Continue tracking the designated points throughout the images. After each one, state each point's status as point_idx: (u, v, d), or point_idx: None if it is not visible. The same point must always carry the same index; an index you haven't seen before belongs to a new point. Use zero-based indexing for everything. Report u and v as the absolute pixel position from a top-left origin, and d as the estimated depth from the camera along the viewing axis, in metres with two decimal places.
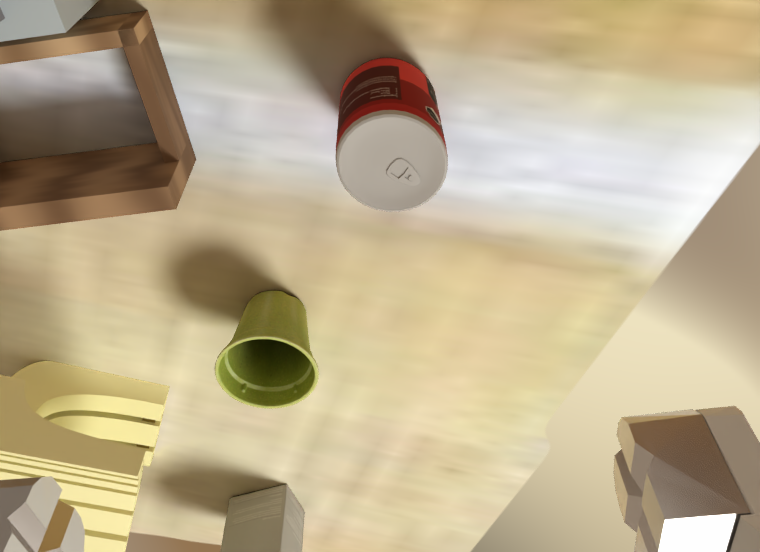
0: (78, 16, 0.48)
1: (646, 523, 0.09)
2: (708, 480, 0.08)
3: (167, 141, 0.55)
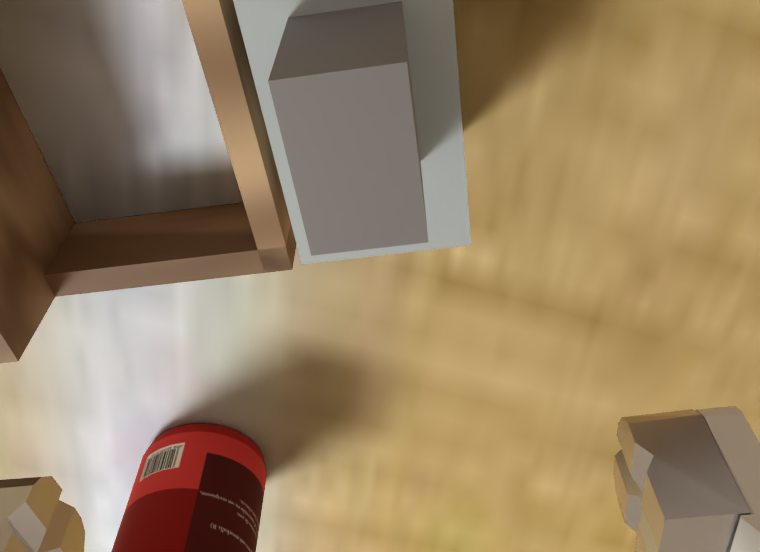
0: None
1: (646, 523, 0.09)
2: (708, 480, 0.08)
3: (90, 285, 0.30)
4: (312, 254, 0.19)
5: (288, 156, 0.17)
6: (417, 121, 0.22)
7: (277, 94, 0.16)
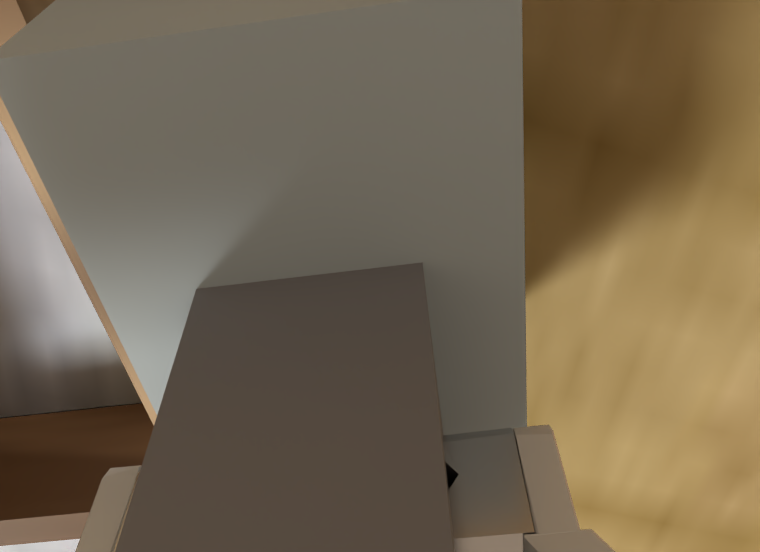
0: None
1: None
2: (503, 499, 0.08)
3: None
4: None
5: None
6: (445, 432, 0.12)
7: None
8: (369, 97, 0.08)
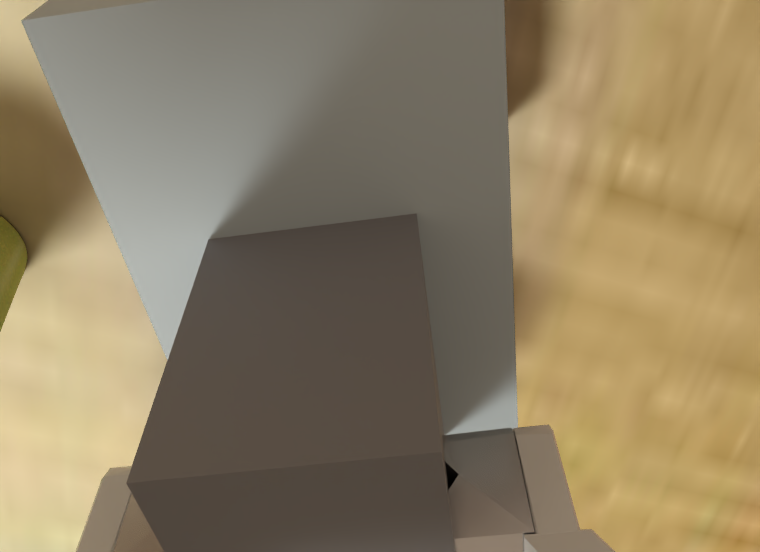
0: None
1: None
2: (503, 499, 0.08)
3: None
4: None
5: None
6: (440, 384, 0.13)
7: (151, 501, 0.07)
8: (367, 54, 0.09)
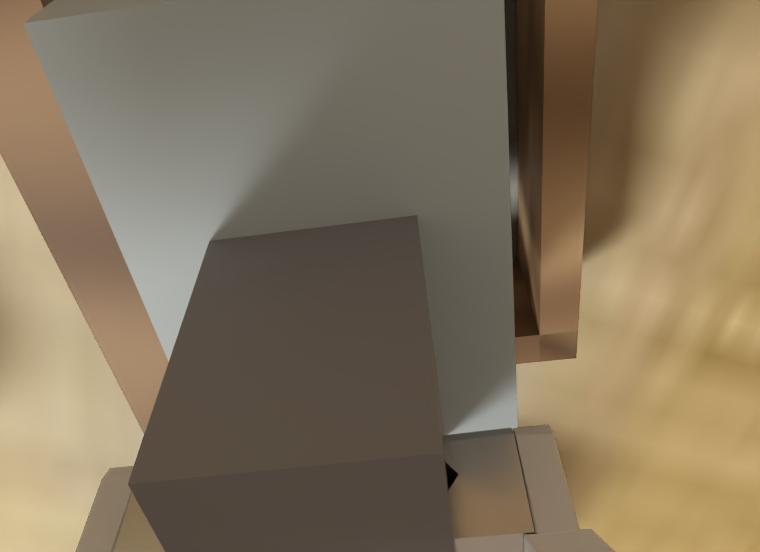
0: None
1: None
2: (503, 499, 0.08)
3: None
4: None
5: None
6: (440, 385, 0.13)
7: (152, 502, 0.07)
8: (368, 57, 0.09)
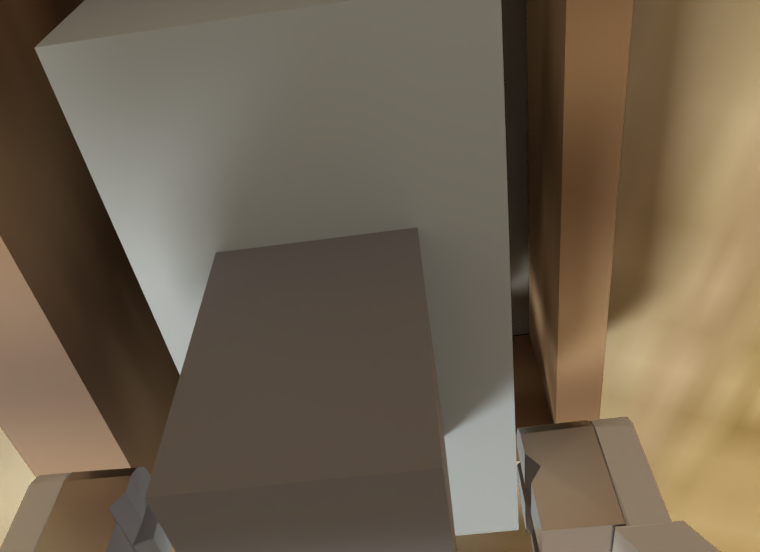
0: None
1: None
2: (589, 491, 0.08)
3: None
4: None
5: None
6: (440, 388, 0.13)
7: (167, 514, 0.08)
8: (370, 78, 0.09)
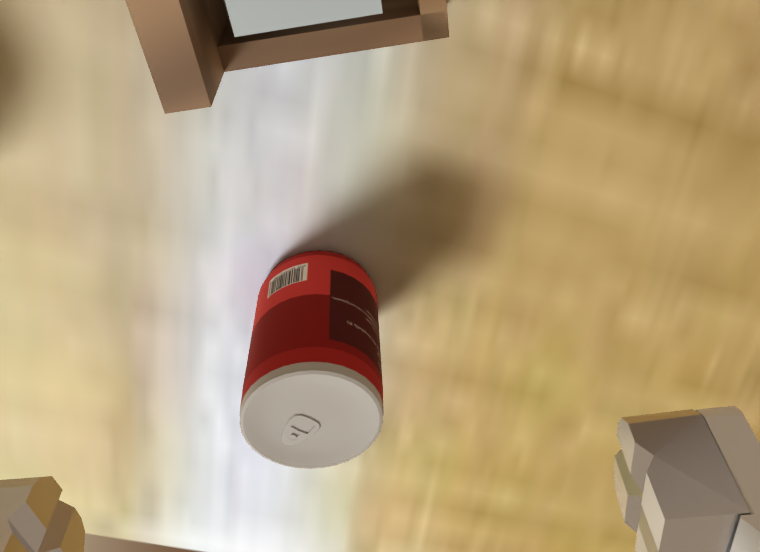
0: None
1: (646, 523, 0.09)
2: (708, 480, 0.08)
3: (259, 57, 0.33)
4: None
5: None
6: None
7: None
8: None
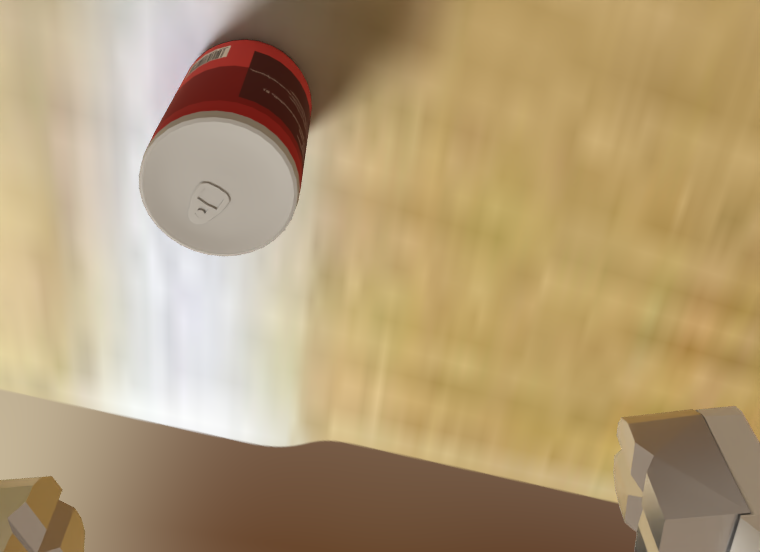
0: None
1: (646, 523, 0.09)
2: (708, 480, 0.08)
3: None
4: None
5: None
6: None
7: None
8: None
